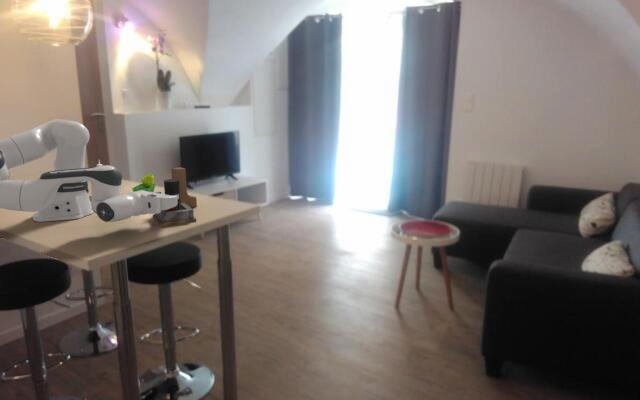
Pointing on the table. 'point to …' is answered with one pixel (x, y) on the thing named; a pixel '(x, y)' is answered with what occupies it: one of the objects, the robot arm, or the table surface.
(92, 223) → the table surface
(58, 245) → the table surface
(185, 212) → the grey shallow box
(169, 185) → the deodorant
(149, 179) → the fruit basket
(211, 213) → the table surface
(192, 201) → the wooden block
